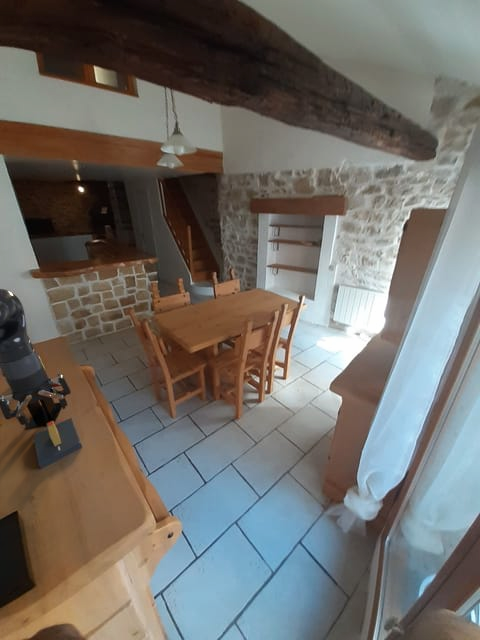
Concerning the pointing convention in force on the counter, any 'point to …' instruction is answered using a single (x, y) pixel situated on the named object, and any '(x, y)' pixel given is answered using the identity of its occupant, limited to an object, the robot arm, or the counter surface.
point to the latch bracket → (43, 412)
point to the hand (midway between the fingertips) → (46, 415)
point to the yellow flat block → (53, 433)
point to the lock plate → (53, 453)
